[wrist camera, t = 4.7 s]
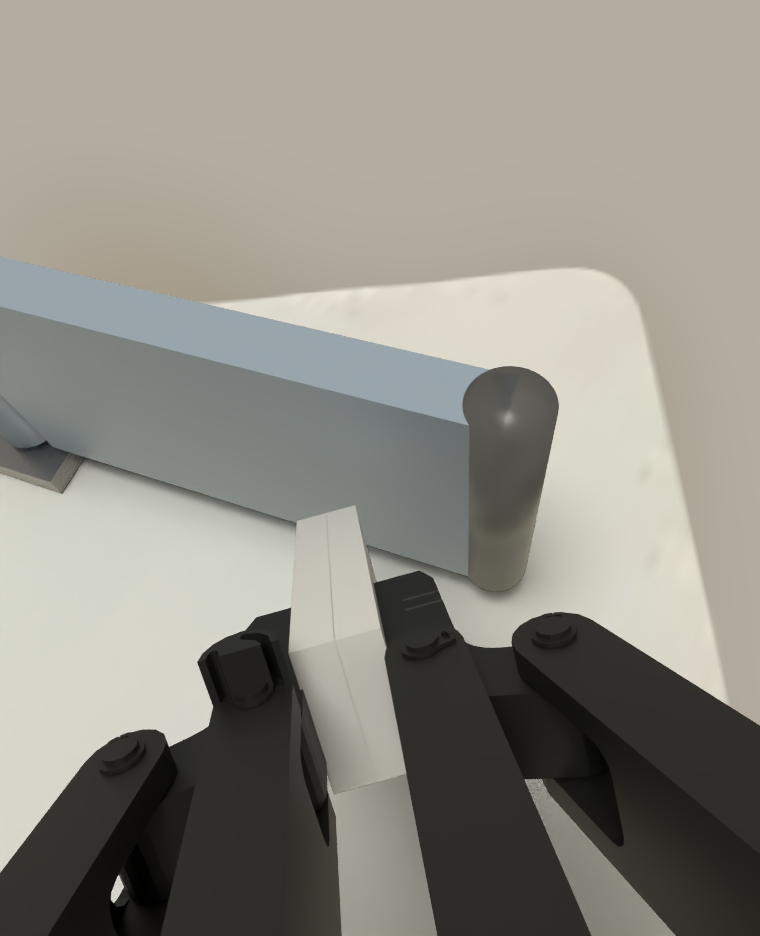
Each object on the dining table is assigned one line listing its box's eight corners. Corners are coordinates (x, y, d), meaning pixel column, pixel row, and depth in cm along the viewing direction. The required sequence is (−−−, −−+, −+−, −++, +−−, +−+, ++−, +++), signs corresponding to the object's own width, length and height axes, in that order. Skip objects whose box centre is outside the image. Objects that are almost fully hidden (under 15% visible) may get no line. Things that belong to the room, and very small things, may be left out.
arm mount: (-20, 466, 28) (-34, 454, 27) (35, 387, 30) (24, 374, 29) (61, 493, 27) (49, 482, 26) (114, 409, 29) (105, 397, 28)
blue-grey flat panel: (-10, 439, 27) (-202, 269, 19) (25, 390, 28) (-144, 210, 20) (515, 605, 22) (542, 464, 14) (535, 537, 23) (570, 370, 15)
